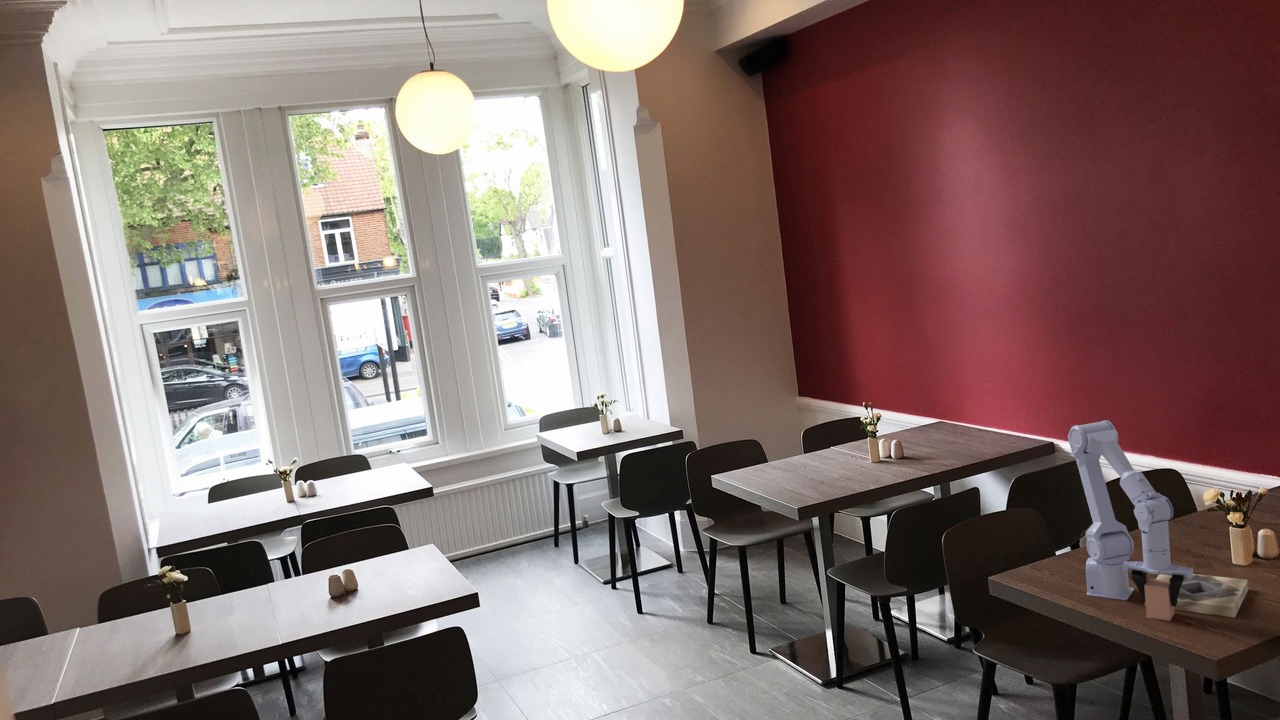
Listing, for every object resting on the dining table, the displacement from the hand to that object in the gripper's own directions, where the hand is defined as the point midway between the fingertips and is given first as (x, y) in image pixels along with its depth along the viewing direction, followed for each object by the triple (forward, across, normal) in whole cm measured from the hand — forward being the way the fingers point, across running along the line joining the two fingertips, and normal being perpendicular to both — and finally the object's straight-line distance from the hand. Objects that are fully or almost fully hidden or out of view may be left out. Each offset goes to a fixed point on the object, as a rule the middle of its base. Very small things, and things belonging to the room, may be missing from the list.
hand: (1159, 603), depth 227 cm
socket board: (+3, +5, +14) cm, 15 cm away
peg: (+3, 0, 0) cm, 3 cm away
